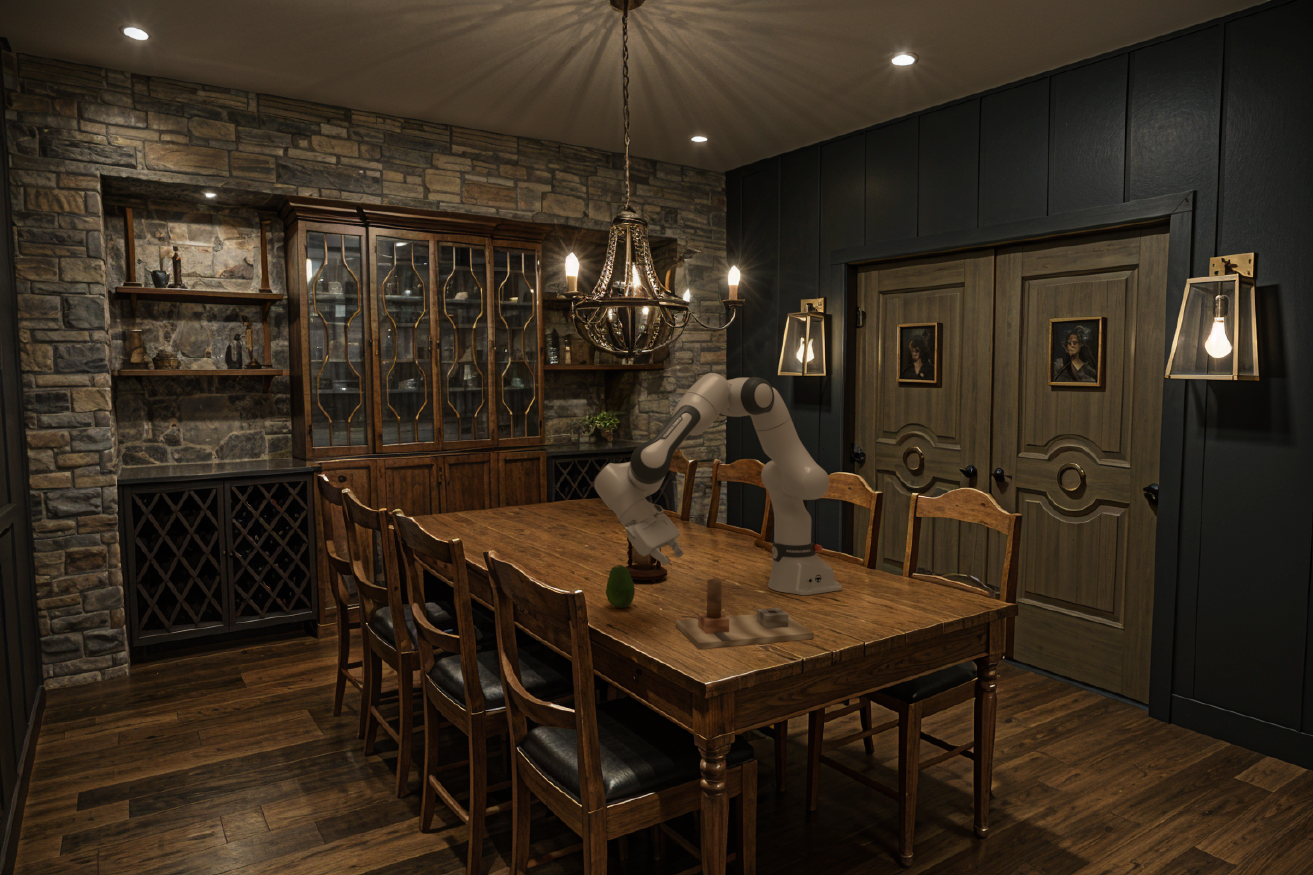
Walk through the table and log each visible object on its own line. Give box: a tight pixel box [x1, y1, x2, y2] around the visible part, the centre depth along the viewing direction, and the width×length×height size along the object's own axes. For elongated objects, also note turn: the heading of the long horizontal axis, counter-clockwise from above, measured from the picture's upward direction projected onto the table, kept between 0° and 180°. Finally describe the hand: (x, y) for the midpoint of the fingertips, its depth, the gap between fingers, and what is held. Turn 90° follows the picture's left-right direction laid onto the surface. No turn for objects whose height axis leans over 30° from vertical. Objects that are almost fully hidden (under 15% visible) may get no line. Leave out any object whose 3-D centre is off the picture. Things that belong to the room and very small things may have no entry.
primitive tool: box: [753, 538, 773, 554], centre depth 295 cm, size 19×6×4 cm, turn 29°
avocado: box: [605, 564, 636, 609], centre depth 220 cm, size 8×8×12 cm
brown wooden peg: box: [706, 578, 723, 619], centre depth 198 cm, size 4×4×12 cm
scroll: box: [625, 536, 668, 585], centre depth 252 cm, size 15×15×20 cm
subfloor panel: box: [675, 607, 815, 650], centre depth 201 cm, size 30×18×5 cm, turn 107°
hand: (674, 559), depth 202 cm, fingers open, 8 cm apart
